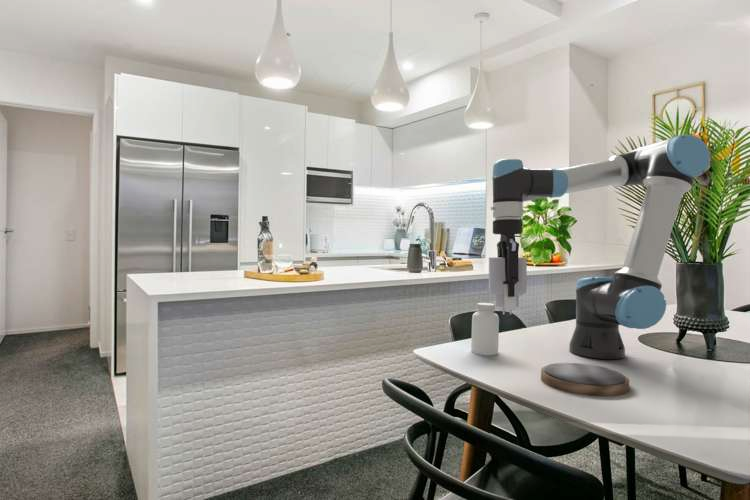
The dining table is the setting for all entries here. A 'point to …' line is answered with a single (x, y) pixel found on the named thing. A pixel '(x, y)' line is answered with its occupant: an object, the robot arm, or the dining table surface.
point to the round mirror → (585, 379)
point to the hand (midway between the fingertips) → (507, 307)
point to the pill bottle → (485, 330)
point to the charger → (499, 276)
